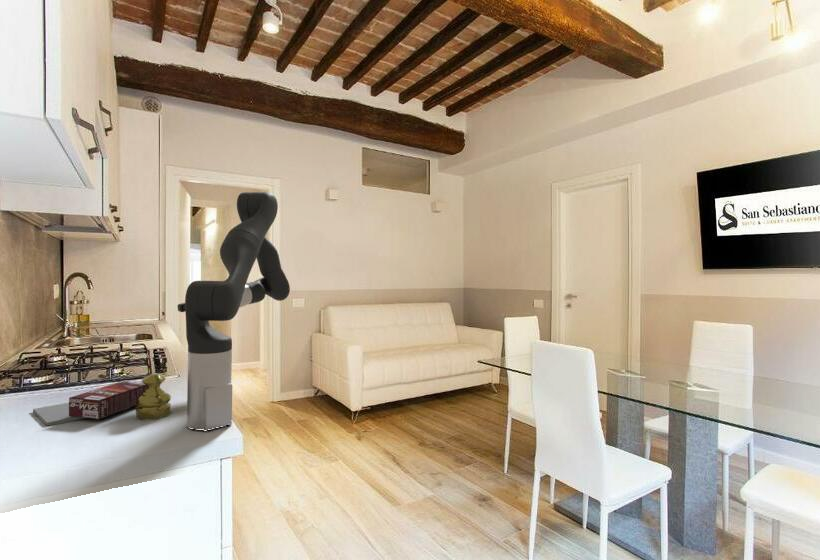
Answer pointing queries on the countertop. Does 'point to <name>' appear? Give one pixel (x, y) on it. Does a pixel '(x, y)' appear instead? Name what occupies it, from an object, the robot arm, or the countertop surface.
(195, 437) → the countertop surface
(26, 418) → the countertop surface
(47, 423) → the rubber mat
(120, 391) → the supplement box
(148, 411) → the brass knobbed piece
